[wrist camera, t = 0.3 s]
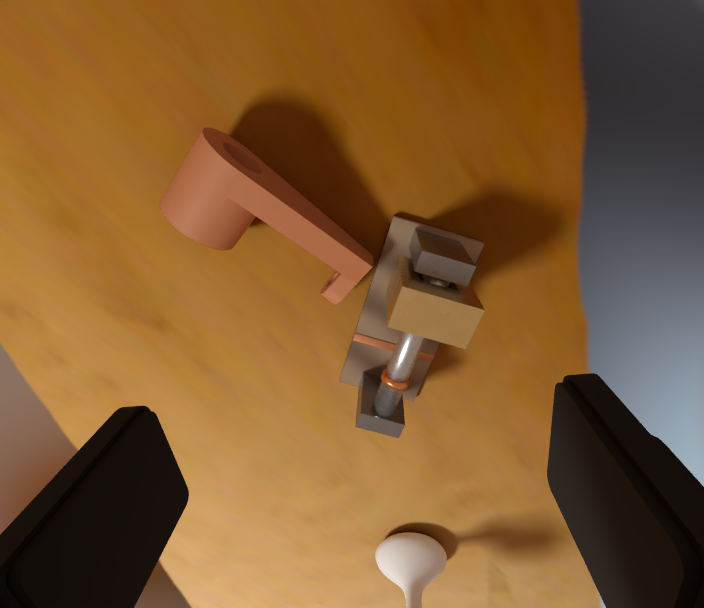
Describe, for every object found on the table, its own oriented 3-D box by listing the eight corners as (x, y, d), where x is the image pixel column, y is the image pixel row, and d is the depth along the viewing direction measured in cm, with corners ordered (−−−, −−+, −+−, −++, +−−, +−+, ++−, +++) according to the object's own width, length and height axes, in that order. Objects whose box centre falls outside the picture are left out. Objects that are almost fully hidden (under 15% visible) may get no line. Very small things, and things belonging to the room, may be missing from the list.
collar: (398, 254, 39) (402, 286, 32) (465, 274, 40) (484, 310, 32) (386, 289, 41) (387, 327, 33) (450, 308, 41) (465, 349, 34)
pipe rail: (414, 226, 41) (422, 250, 34) (458, 239, 42) (476, 266, 34) (359, 379, 50) (355, 426, 43) (396, 389, 51) (398, 438, 43)
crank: (184, 189, 41) (142, 203, 34) (223, 127, 39) (187, 128, 31) (328, 302, 46) (319, 336, 39) (373, 254, 43) (371, 281, 36)
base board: (393, 215, 41) (393, 216, 40) (482, 241, 41) (484, 244, 41) (339, 377, 50) (339, 382, 49) (413, 397, 51) (413, 402, 50)
